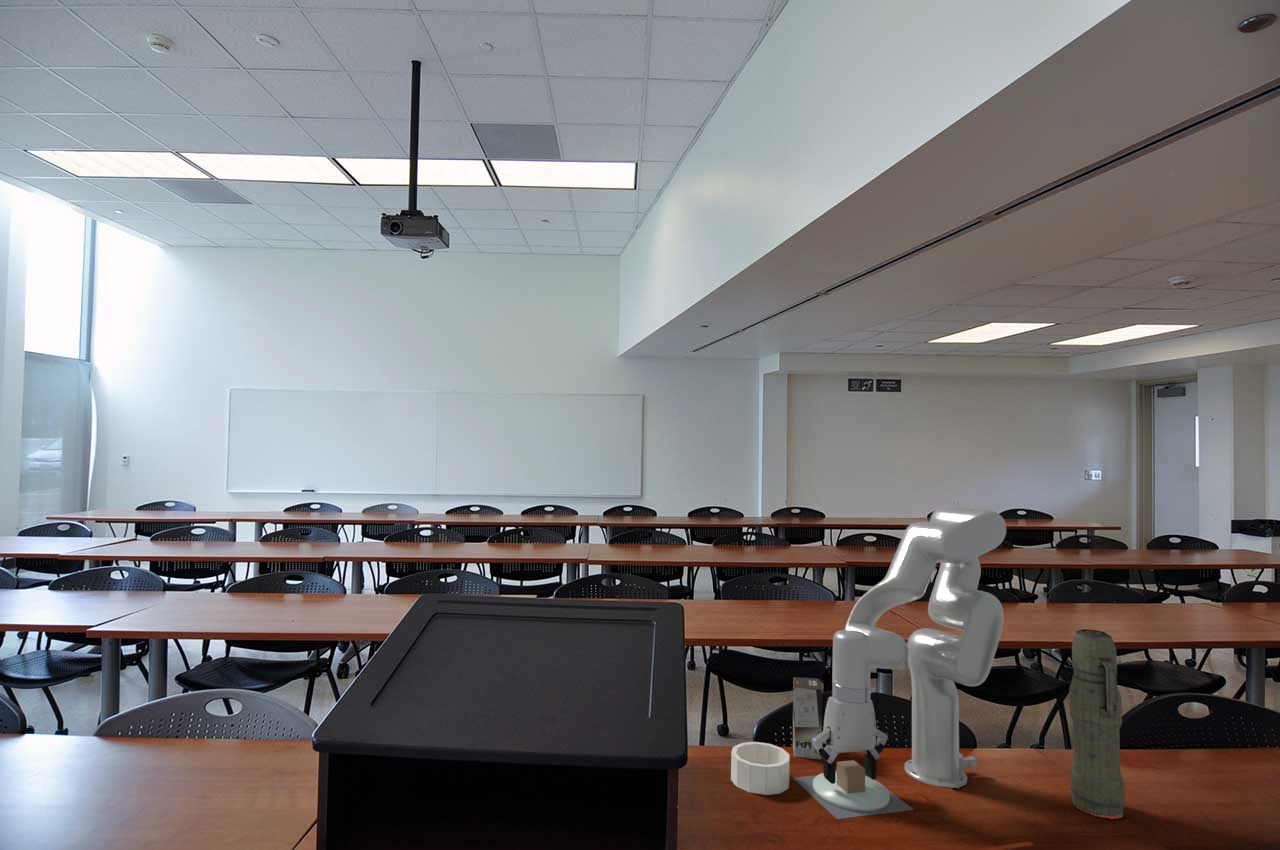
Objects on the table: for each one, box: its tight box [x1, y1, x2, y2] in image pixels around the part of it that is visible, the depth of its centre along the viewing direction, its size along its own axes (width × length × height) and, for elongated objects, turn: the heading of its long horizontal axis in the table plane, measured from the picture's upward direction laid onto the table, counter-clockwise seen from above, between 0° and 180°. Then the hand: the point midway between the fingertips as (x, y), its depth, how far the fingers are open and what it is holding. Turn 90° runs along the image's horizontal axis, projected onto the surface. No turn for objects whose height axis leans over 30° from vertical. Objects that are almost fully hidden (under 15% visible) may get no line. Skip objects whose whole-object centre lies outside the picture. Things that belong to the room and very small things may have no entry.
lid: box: [813, 759, 890, 812], centre depth 133 cm, size 15×15×6 cm
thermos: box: [1068, 628, 1125, 816], centre depth 133 cm, size 9×12×35 cm
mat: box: [792, 774, 914, 820], centre depth 133 cm, size 17×17×1 cm
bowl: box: [730, 741, 791, 796], centre depth 138 cm, size 12×12×6 cm
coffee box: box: [792, 676, 823, 760], centre depth 155 cm, size 9×6×16 cm
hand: (849, 778), depth 133 cm, fingers open, 9 cm apart
